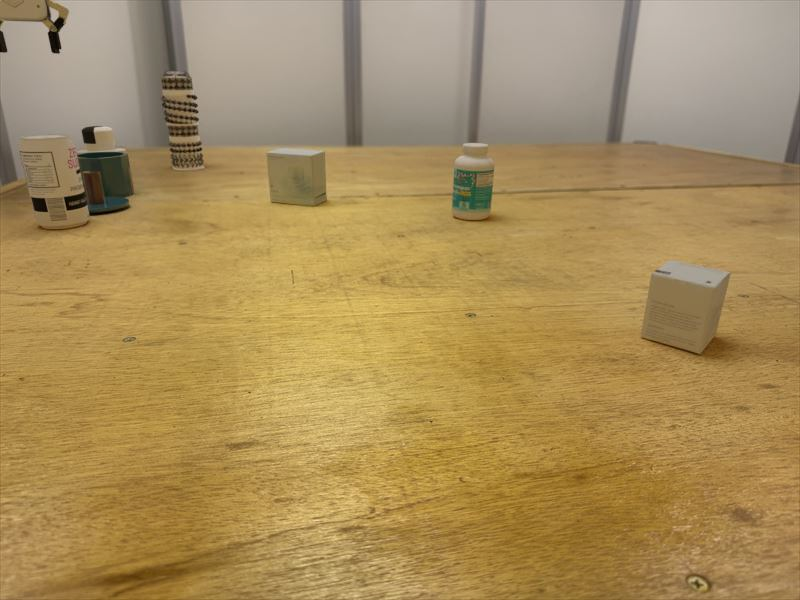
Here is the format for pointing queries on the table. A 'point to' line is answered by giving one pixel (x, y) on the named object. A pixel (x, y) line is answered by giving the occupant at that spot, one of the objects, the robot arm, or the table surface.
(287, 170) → the cosmetics box
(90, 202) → the jar lid
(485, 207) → the pill bottle
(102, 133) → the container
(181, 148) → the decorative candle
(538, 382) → the table surface
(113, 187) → the storage jar
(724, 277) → the white cardboard box
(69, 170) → the supplement can
